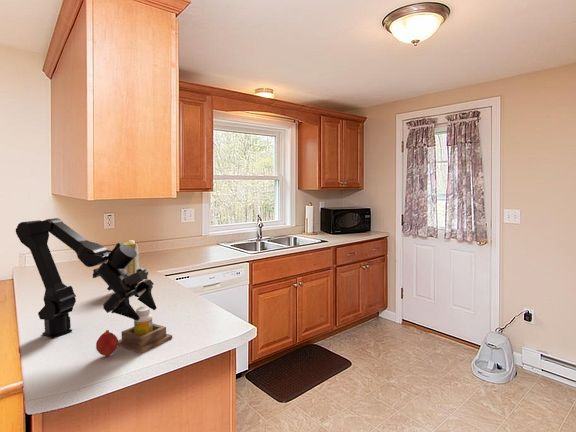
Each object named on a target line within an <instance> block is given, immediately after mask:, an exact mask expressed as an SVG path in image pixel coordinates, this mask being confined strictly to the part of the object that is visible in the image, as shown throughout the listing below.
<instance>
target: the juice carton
mask: <svg viewBox="0 0 576 432" xmlns="http://www.w3.org/2000/svg"><path fill="white" fill-rule="evenodd" d="M135 242H136V240H134V239H133V240H128V241H125V242H123V243H124V244H125V245H128V246H130V247H132V248H134V249H135V251H136V253H137V255H136V257H135V258H134V259H133V260H132V261H131V262H130V263H129V264H128V266H127V267H126V268H124V269H120V270H121V271H122V272H123V273H124V274H126V273H129V274H130V275H132V274H134V273H136V270H138V269H140V251H139V246H138V244H137V243H135ZM140 283H141V282H139V284H140ZM139 284H138V285H139ZM138 285H137V286H138ZM137 286H136V287H137Z"/></svg>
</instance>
